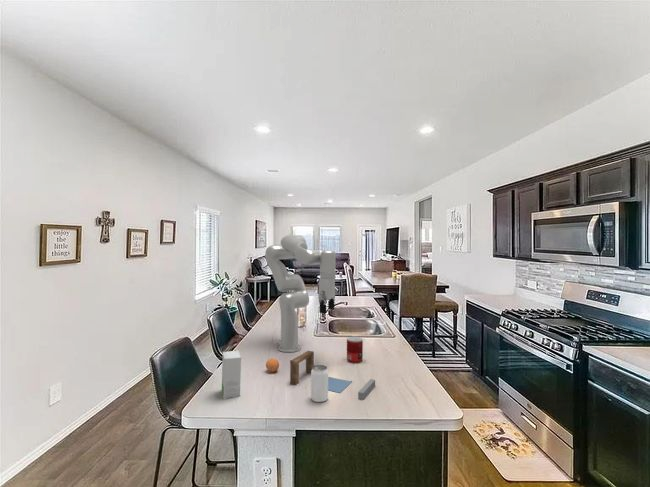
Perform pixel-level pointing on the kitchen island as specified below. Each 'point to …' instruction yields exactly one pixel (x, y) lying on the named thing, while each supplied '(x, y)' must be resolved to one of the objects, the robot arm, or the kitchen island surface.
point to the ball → (272, 365)
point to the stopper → (366, 389)
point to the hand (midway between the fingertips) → (327, 311)
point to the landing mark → (337, 384)
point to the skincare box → (231, 374)
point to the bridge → (295, 366)
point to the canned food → (354, 349)
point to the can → (319, 383)
